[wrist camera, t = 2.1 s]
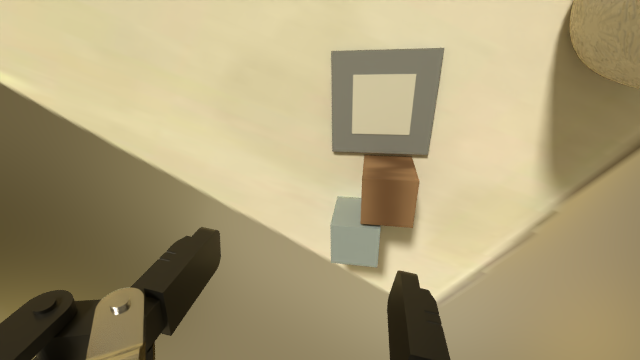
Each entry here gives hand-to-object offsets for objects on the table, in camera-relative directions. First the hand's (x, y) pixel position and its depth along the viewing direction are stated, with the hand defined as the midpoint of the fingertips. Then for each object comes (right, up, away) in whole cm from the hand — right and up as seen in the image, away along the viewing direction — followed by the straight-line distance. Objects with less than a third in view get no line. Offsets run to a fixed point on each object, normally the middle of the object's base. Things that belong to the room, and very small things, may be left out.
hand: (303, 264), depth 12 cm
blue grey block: (+5, -1, +22) cm, 23 cm away
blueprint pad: (+7, +11, +16) cm, 21 cm away
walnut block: (+8, +4, +19) cm, 21 cm away
